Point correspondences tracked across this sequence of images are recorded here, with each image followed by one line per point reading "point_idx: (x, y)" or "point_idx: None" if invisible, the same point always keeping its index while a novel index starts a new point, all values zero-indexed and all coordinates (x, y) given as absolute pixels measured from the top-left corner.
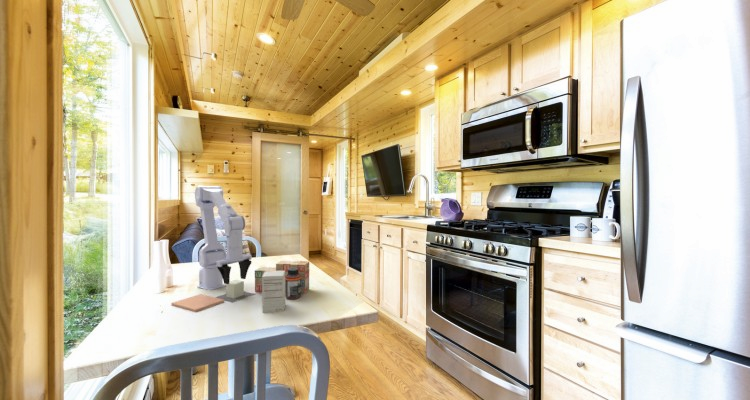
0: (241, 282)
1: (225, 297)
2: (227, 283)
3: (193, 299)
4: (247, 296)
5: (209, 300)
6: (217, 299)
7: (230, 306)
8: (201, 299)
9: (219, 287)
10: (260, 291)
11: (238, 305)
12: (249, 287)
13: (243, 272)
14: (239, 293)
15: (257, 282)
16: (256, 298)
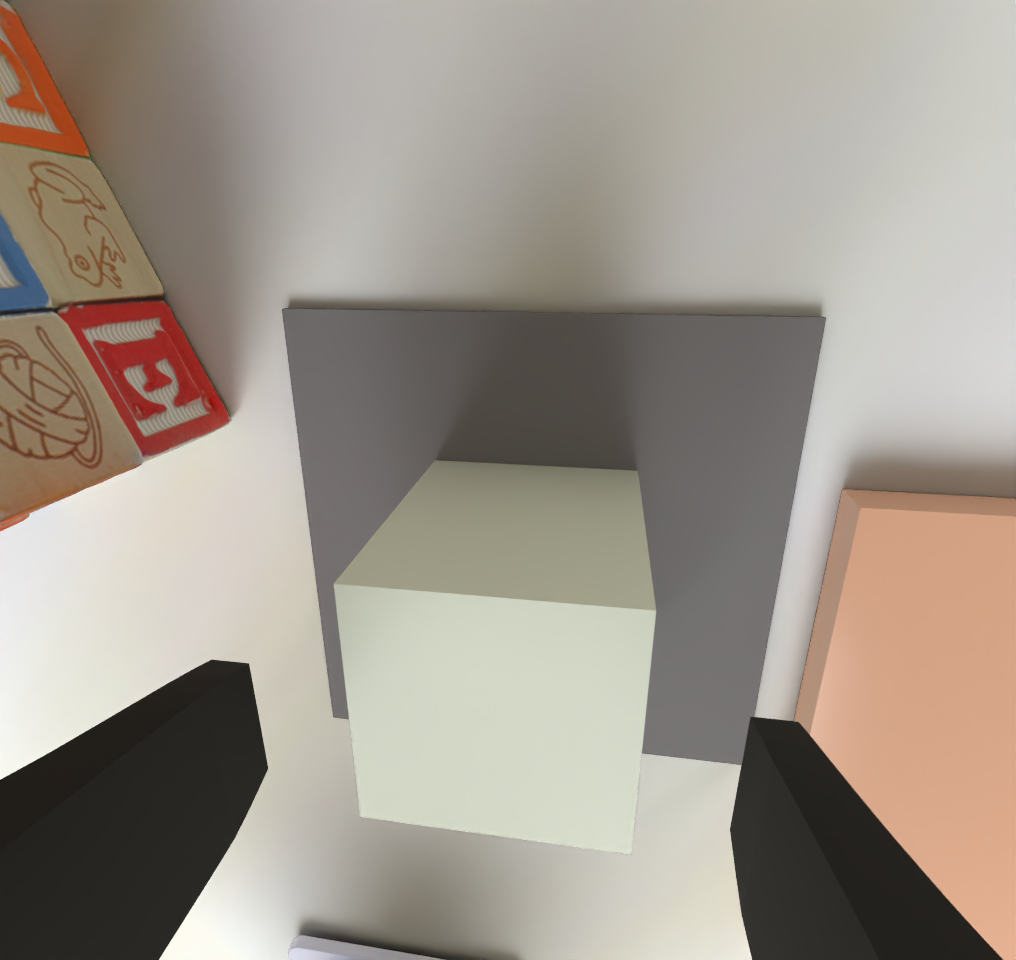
0: (409, 584)
1: (657, 632)
2: (809, 738)
3: (997, 912)
4: (451, 344)
5: (970, 694)
6: (881, 619)
7: (997, 193)
8: (959, 825)
9: (404, 954)
10: (168, 333)
11: (895, 83)
12: (161, 663)
13: (117, 853)
14: (519, 483)
15: (65, 421)
16: (421, 105)
